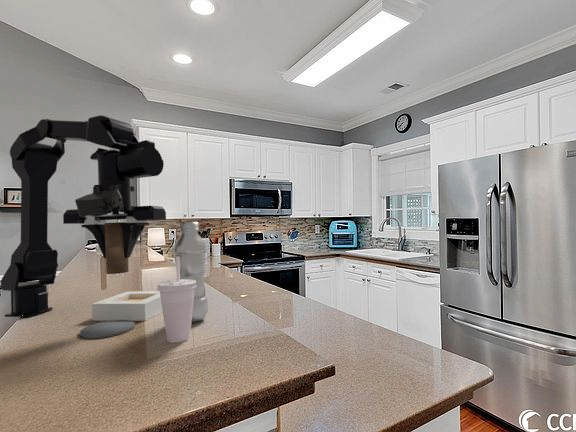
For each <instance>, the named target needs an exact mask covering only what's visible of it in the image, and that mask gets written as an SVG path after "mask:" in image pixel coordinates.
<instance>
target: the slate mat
mask: <svg viewBox="0 0 576 432" xmlns="http://www.w3.org/2000/svg"><path fill="white" fill-rule="evenodd" d="M135 327H136V326H135V322H134V321H130V320H113V321H101V322H98V323H94V324H91V325H89V326H85V327H84V328H82V329H81V330H80V333H79V335H80V337H81V338H83V339H88V340H90V339H94V340H95V339H97V340H98V339H105V338H111V337H115V336H116V337H117V336H119V335H123V334H125V333H128V332H130V331H131V330H133V329H134V328H135Z"/></svg>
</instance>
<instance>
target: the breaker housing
mask: <svg viewBox="0 0 576 432" xmlns="http://www.w3.org/2000/svg"><path fill="white" fill-rule="evenodd" d="M129 299H144V300H142V301H126V300H129ZM161 313H163V310H162V304H161V297H160V291H158V290H157V291H152V290H150V291H140V290H139V291H125V292H122V293H119V294H117V295H114V296H110V297H107V298H105V299H101V300H99V301H96V302H94V303H91V316H92V321H101V322H106V321H113V320H130V321H133V322H134V321H137V322H138V321H140V322H142V321H145V322H147V320H150V319H152V318H154V317H155V316H157V315H159V314H161Z"/></svg>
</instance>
